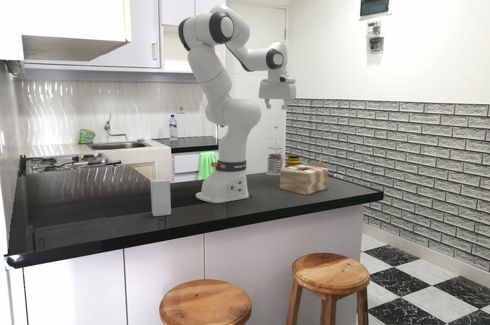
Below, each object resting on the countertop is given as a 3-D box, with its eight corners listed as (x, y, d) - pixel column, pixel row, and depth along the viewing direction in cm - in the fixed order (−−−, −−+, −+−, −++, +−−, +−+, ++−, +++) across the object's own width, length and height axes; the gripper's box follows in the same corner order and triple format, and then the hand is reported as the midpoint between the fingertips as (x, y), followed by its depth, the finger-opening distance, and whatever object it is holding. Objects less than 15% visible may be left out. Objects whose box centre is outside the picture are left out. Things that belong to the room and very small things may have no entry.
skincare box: (168, 211, 130) (168, 177, 127) (171, 215, 126) (170, 180, 123) (151, 213, 127) (150, 178, 125) (153, 217, 123) (152, 182, 121)
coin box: (305, 194, 154) (307, 173, 152) (279, 188, 164) (280, 168, 162) (326, 188, 165) (328, 168, 164) (301, 182, 175) (302, 164, 173)
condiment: (290, 181, 177) (291, 156, 175) (280, 177, 185) (281, 154, 182) (302, 180, 181) (304, 155, 178) (292, 176, 188) (293, 153, 186)
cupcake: (320, 174, 193) (321, 152, 191) (328, 178, 185) (330, 154, 183) (305, 175, 190) (306, 152, 188) (313, 179, 182) (314, 155, 180)
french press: (277, 170, 201) (279, 124, 196) (289, 175, 191) (291, 126, 186) (261, 172, 197) (263, 125, 192) (273, 176, 186) (274, 127, 182)
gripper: (256, 79, 176) (255, 108, 179) (290, 78, 162) (288, 110, 165) (264, 79, 181) (264, 107, 183) (298, 79, 167) (297, 109, 169)
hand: (276, 109), depth 174 cm, fingers open, 8 cm apart
